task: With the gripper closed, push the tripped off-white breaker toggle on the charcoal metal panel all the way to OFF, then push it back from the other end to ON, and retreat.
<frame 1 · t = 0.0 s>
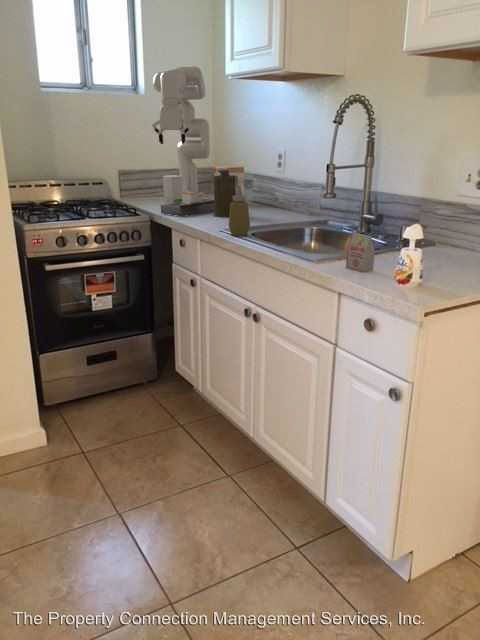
hand: (172, 143, 248), 31 cm above the worktop, tool pointing down, fingers open, 9 cm apart
skincare box: (174, 207, 277), on the worktop
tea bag: (359, 270, 155), on the worktop
coffeecake box: (229, 205, 283), on the worktop
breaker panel: (190, 212, 261), on the worktop
canister: (225, 215, 250), on the worktop
squeeze bottle: (239, 235, 204), on the worktop
breaker toggle: (189, 197, 258), point 7 cm above the worktop, slide at 5.0 cm
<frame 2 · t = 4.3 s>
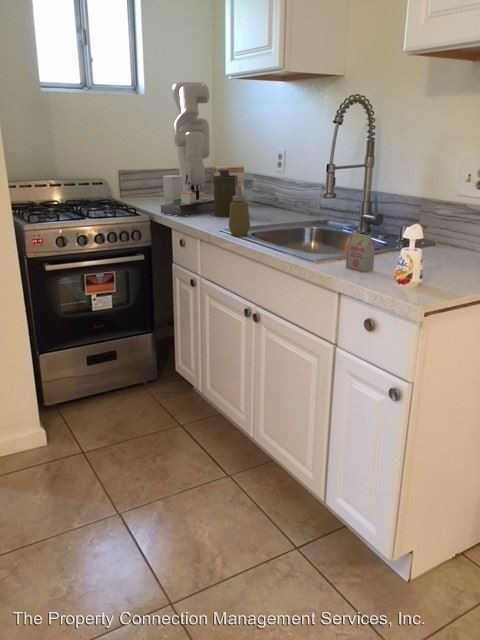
hand: (195, 199, 261), 6 cm above the worktop, tool pointing down, fingers closed
breaker toggle: (188, 197, 258), point 7 cm above the worktop, slide at 5.6 cm, touching gripper
everything else where it was.
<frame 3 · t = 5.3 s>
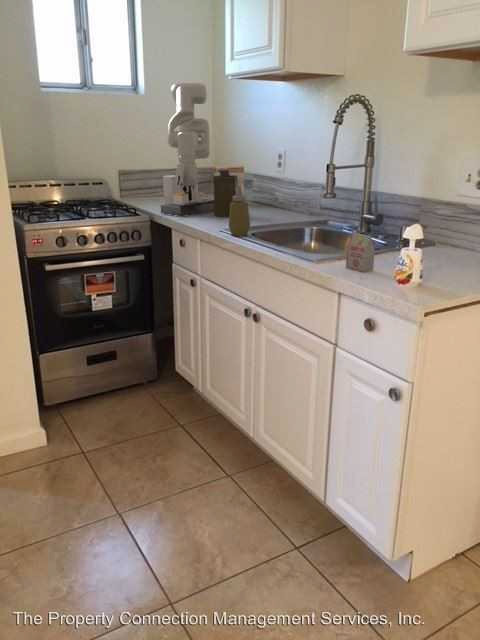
hand: (188, 200, 258), 6 cm above the worktop, tool pointing down, fingers closed
breaker toggle: (180, 198, 255), point 7 cm above the worktop, slide at 10.3 cm, touching gripper
everything else where it was.
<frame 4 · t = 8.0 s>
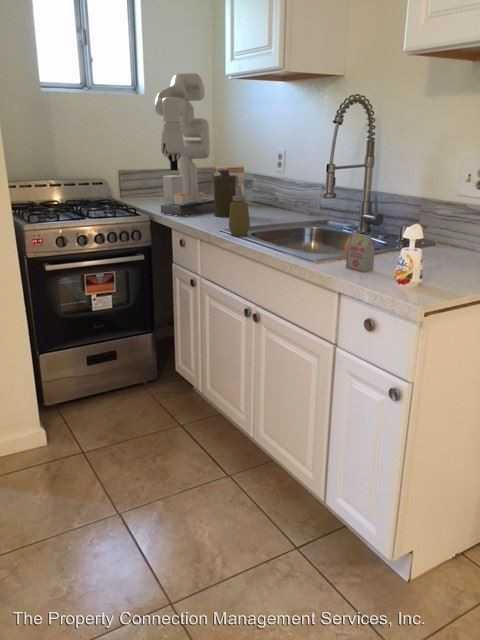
hand: (174, 170, 248), 20 cm above the worktop, tool pointing down, fingers closed
breaker toggle: (181, 198, 255), point 7 cm above the worktop, slide at 10.0 cm
everything else where it was.
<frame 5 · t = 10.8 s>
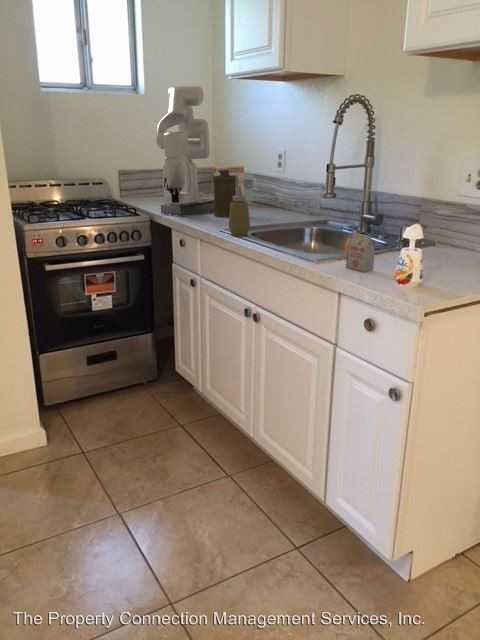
hand: (175, 202, 253), 5 cm above the worktop, tool pointing down, fingers closed
breaker toggle: (182, 198, 255), point 7 cm above the worktop, slide at 9.2 cm, touching gripper
everything else where it was.
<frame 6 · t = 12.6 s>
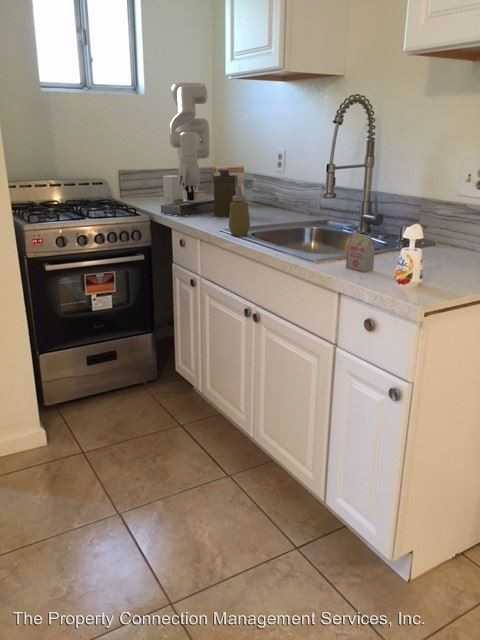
hand: (190, 200, 259), 5 cm above the worktop, tool pointing down, fingers closed
breaker toggle: (197, 196, 262), point 7 cm above the worktop, slide at -0.2 cm, touching gripper
everything else where it was.
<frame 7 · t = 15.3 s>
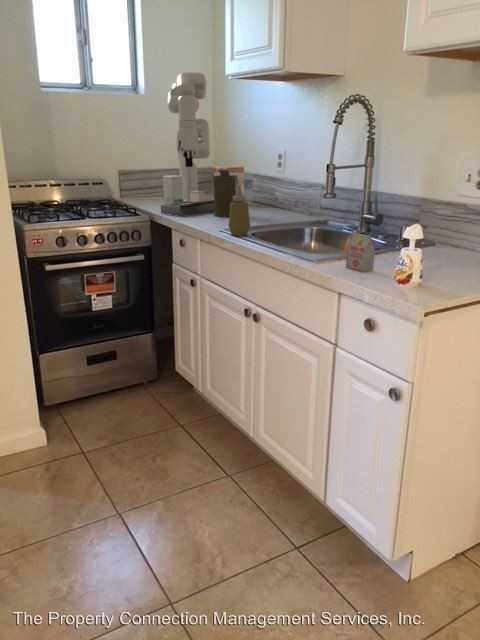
hand: (189, 166, 254), 21 cm above the worktop, tool pointing down, fingers closed
breaker toggle: (197, 196, 262), point 7 cm above the worktop, slide at 0.0 cm
everything else where it was.
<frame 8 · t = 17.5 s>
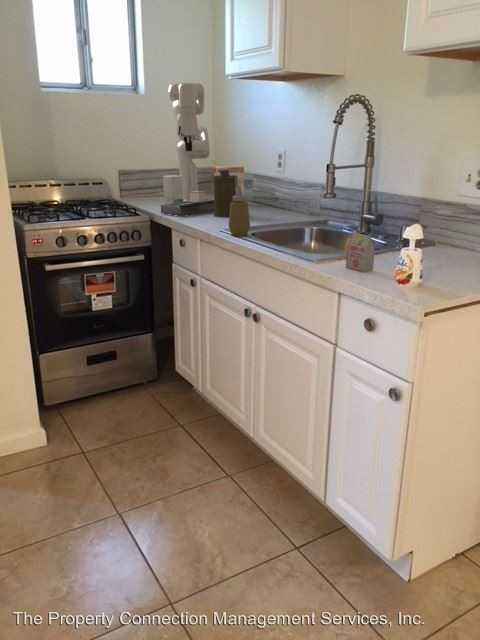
hand: (188, 151, 269), 27 cm above the worktop, tool pointing down, fingers closed
nothing on the worktop moved.
at the end: breaker toggle slide at 0.0 cm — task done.
